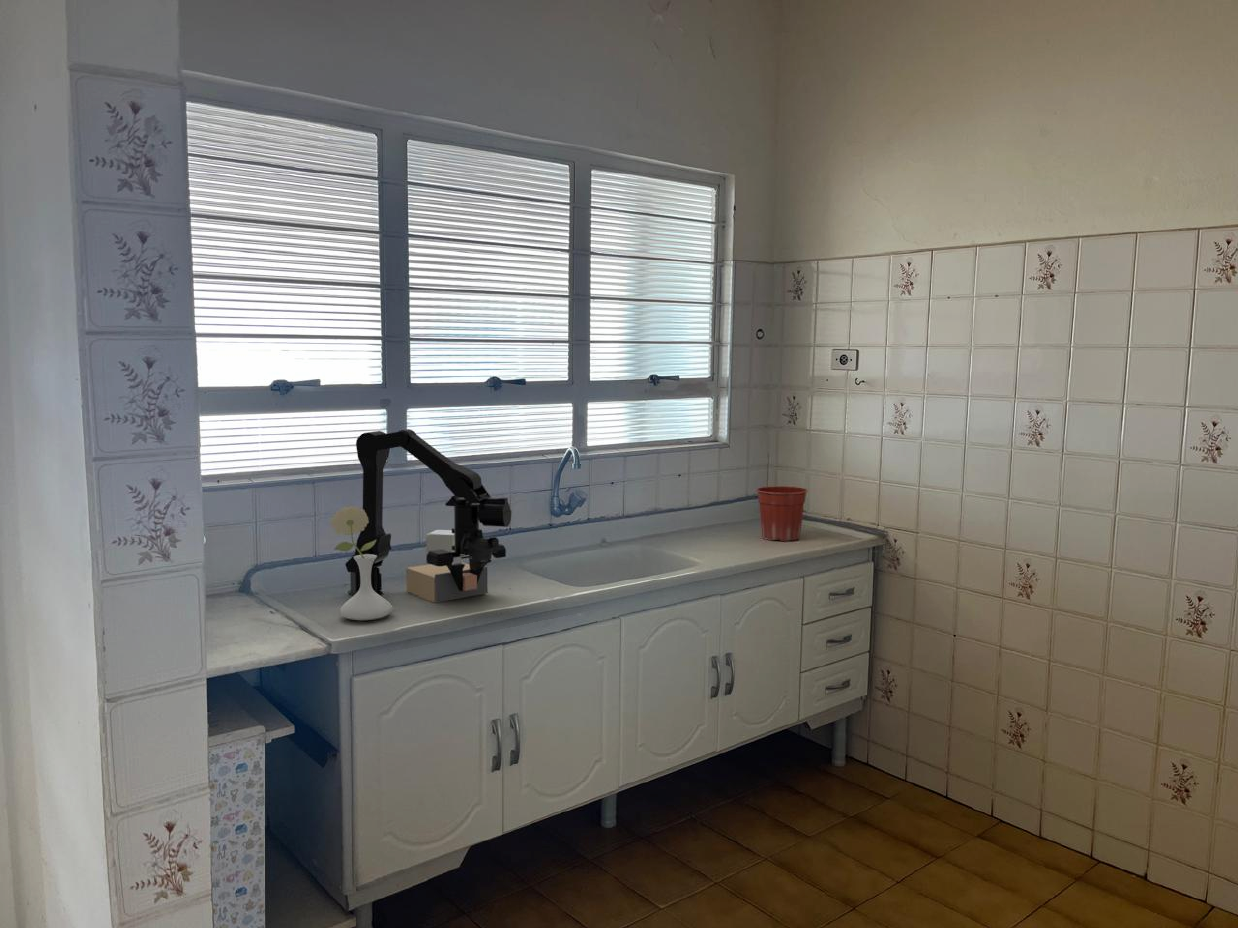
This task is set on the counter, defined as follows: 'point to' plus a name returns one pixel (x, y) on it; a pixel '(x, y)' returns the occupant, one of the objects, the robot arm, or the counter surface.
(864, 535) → the counter surface
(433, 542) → the supplement box
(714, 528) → the counter surface
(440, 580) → the tray
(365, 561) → the flower in vase
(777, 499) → the flower pot
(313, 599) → the counter surface
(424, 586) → the sleeve
